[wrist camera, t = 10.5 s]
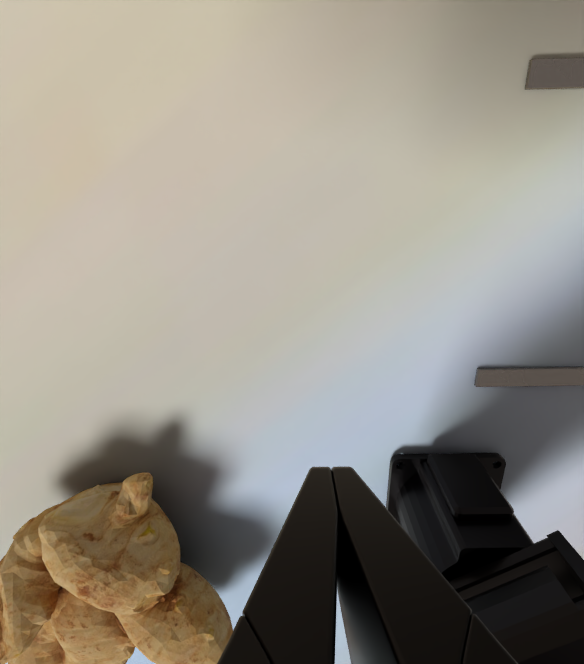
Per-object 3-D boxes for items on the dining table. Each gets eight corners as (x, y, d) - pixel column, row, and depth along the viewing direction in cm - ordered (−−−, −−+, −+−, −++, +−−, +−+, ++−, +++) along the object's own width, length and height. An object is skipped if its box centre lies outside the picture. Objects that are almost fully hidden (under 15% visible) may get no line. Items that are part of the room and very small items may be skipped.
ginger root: (240, 454, 21) (207, 634, 14) (254, 583, 30) (237, 731, 23) (-38, 441, 21) (-199, 610, 14) (59, 573, 30) (-13, 714, 23)
